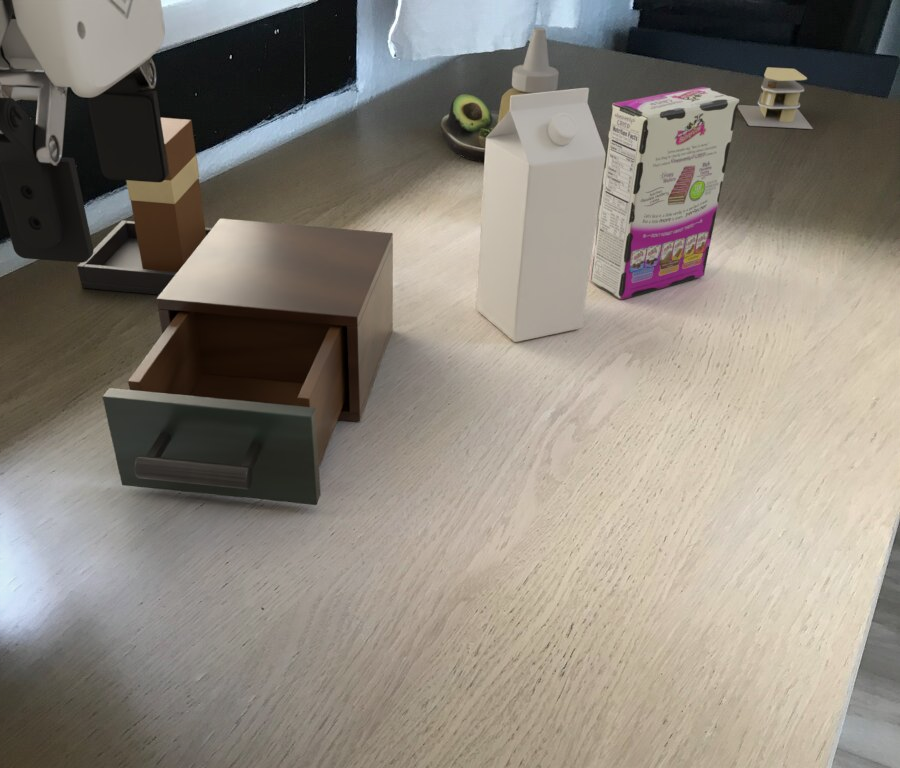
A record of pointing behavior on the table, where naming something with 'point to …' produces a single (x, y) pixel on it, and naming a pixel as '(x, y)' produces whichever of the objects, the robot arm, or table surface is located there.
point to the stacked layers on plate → (778, 101)
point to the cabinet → (296, 286)
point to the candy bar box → (661, 189)
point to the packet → (170, 204)
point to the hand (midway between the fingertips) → (99, 215)
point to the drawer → (232, 407)
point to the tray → (122, 265)
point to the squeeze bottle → (531, 72)
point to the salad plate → (469, 126)
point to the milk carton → (539, 214)
